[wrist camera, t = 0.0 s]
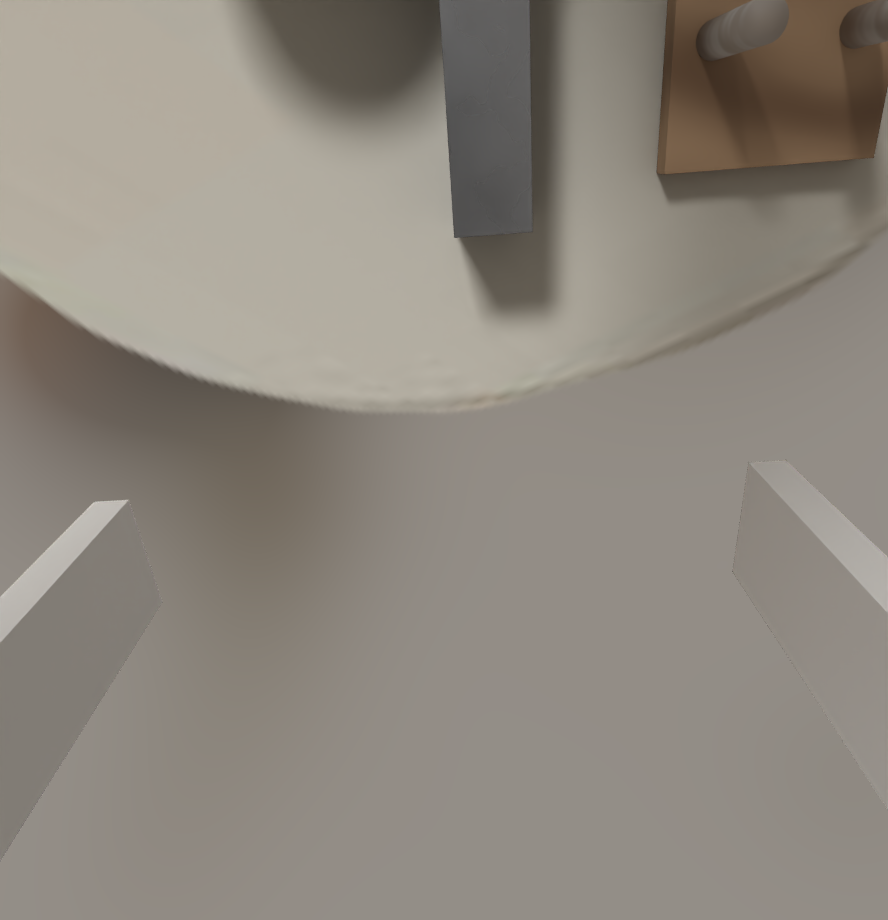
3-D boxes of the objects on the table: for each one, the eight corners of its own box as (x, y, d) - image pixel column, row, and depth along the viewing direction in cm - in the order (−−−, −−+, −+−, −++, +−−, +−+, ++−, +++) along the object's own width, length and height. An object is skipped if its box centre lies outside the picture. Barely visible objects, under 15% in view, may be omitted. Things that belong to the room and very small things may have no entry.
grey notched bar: (412, -244, 29) (405, -315, 25) (525, -256, 29) (538, -329, 24) (445, 227, 38) (444, 238, 33) (531, 220, 38) (542, 231, 33)
